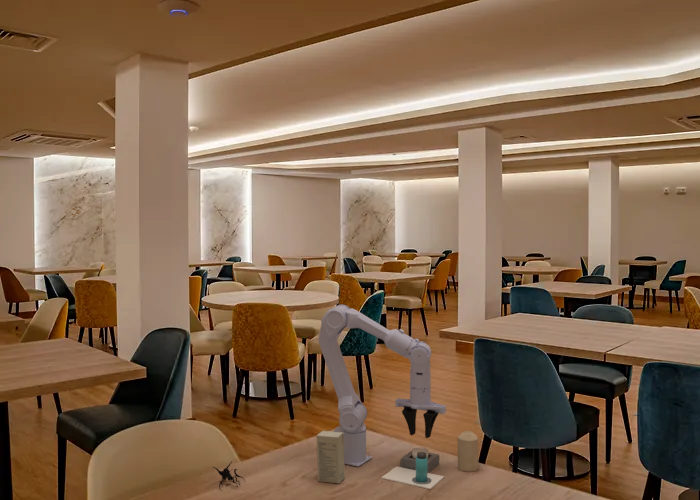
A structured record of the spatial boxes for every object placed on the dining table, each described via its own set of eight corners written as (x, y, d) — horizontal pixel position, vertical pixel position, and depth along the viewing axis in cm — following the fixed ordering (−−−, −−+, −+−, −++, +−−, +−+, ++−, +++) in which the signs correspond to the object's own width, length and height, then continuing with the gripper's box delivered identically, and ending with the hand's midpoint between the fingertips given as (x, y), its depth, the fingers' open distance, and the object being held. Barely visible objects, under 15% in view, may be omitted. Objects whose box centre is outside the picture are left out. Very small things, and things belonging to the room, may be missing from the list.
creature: (250, 488, 162) (232, 473, 167) (253, 469, 161) (235, 455, 166) (225, 497, 156) (207, 482, 161) (228, 478, 155) (210, 463, 160)
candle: (478, 472, 169) (478, 436, 169) (457, 471, 170) (457, 434, 170) (478, 465, 174) (478, 429, 174) (457, 463, 175) (458, 428, 175)
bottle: (413, 480, 162) (413, 454, 162) (418, 477, 165) (419, 450, 165) (424, 483, 161) (424, 456, 160) (429, 479, 163) (429, 453, 163)
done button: (409, 462, 173) (409, 451, 173) (416, 457, 177) (416, 446, 177) (424, 465, 171) (424, 454, 171) (430, 460, 175) (430, 449, 175)
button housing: (400, 467, 173) (400, 458, 173) (413, 458, 179) (413, 449, 179) (427, 473, 168) (427, 463, 168) (439, 463, 175) (439, 454, 175)
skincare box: (345, 478, 165) (345, 432, 165) (339, 484, 161) (339, 437, 161) (322, 475, 167) (322, 429, 167) (316, 481, 163) (316, 434, 163)
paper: (381, 478, 165) (381, 476, 165) (396, 467, 173) (396, 465, 173) (430, 489, 158) (430, 488, 158) (444, 477, 165) (444, 476, 165)
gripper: (390, 386, 174) (390, 435, 174) (439, 393, 166) (438, 444, 167) (401, 381, 180) (401, 428, 180) (449, 387, 172) (449, 436, 173)
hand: (420, 435), depth 174 cm, fingers open, 4 cm apart
